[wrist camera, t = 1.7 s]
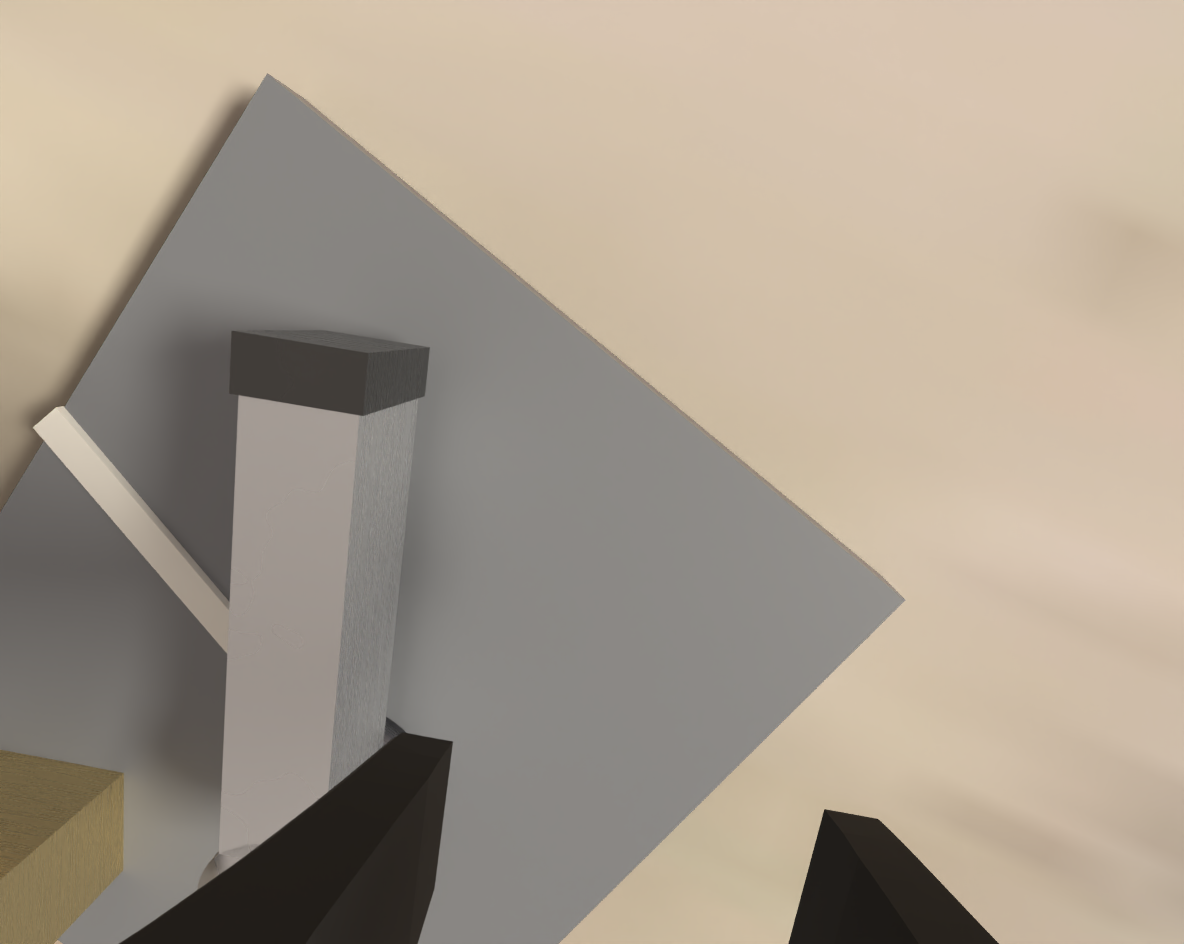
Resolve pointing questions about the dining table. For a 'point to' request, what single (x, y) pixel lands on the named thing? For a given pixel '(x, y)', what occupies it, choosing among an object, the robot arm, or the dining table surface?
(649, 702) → the plate
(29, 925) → the tan block
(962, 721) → the dining table surface
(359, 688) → the bar
